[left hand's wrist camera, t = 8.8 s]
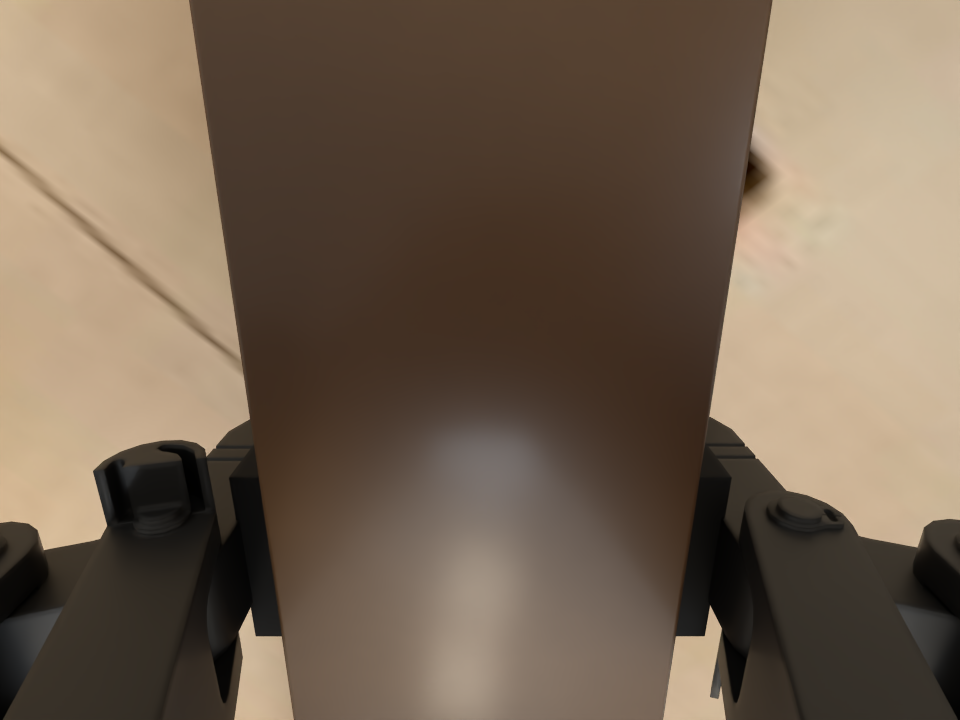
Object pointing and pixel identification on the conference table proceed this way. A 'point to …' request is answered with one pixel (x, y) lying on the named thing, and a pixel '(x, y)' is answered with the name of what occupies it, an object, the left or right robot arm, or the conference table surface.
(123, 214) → the conference table surface
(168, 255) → the conference table surface
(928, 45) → the conference table surface
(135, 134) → the conference table surface
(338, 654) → the bar
